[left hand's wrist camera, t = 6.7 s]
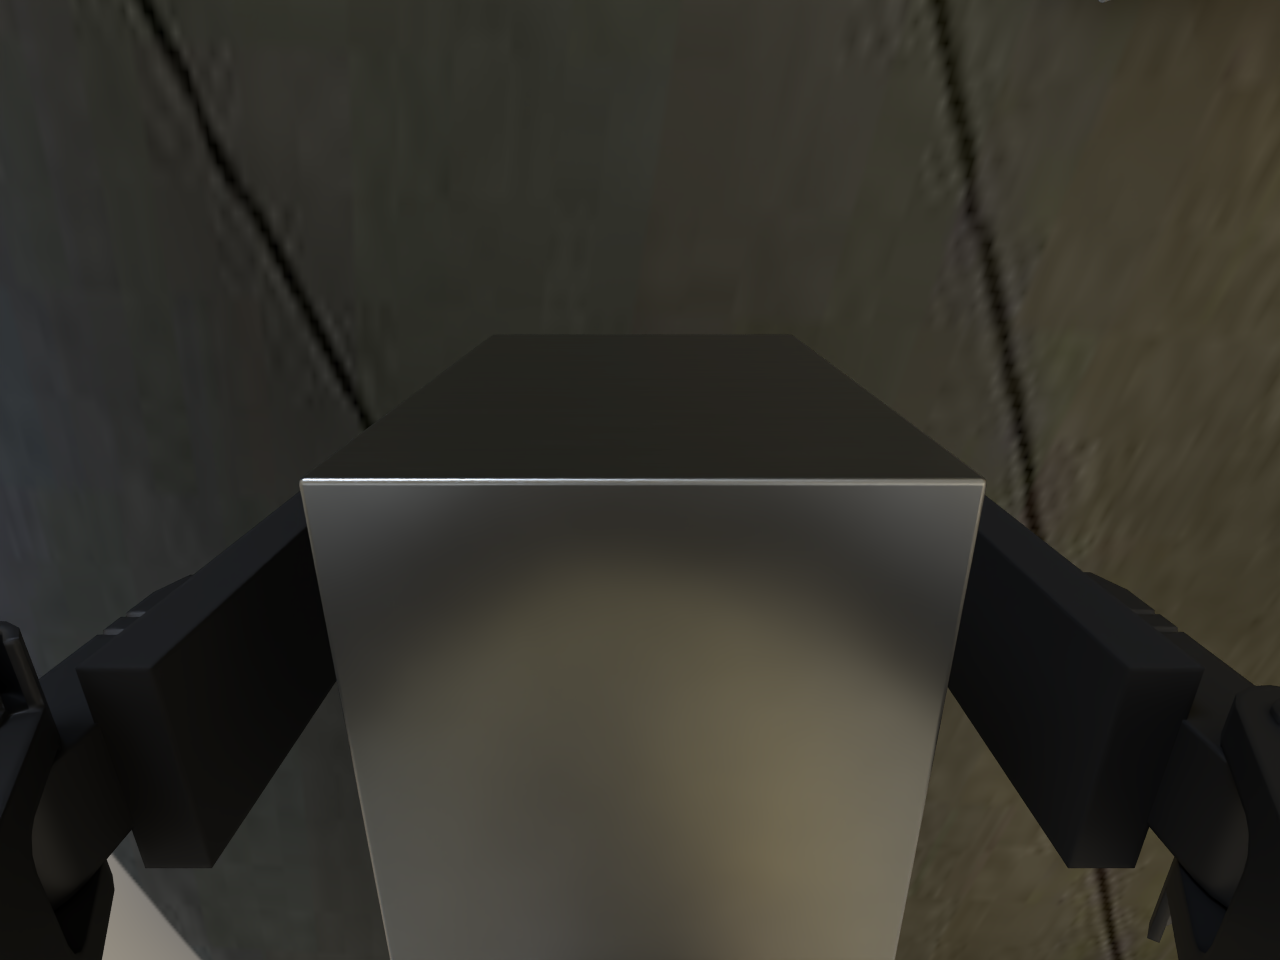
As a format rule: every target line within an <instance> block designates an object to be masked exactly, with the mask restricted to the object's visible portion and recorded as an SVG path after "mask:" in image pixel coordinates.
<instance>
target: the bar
mask: <svg viewBox="0 0 1280 960" xmlns="http://www.w3.org/2000/svg"><path fill="white" fill-rule="evenodd" d="M299 486H300V491H301V497H302V502H303V507H304V512H305V517H306V523H307V528H308V533H309V538H310V543H311V549H312V554H313V559H314V564H315V569H316V575H317V580H318V585H319V590H320V595H321V601H322V606H323V611H324V616H325V622H326V627H327V632H328V637H329V642H330V648H331V653H332V658H333V663H334V668H335V674H336V679H337V684H338V689H339V694H340V700H341V705H342V710H343V715H344V720H345V726H346V731H347V736H348V741H349V746H350V752H351V757H352V762H353V767H354V773H355V778H356V783H357V788H358V793H359V799H360V804H361V809H362V814H363V819H364V825H365V830H366V835H367V840H368V845H369V851H370V856H371V861H372V866H373V871H374V877H375V882H376V887H377V892H378V897H379V903H380V908H381V913H382V918H383V924H384V929H385V934H386V939H387V944H388V950H389V955H390V960H895V955H896V950H897V945H898V940H899V935H900V930H901V924H902V919H903V914H904V909H905V904H906V899H907V893H908V888H909V883H910V878H911V873H912V868H913V862H914V857H915V852H916V847H917V842H918V837H919V831H920V826H921V821H922V816H923V811H924V806H925V800H926V795H927V790H928V785H929V780H930V775H931V769H932V764H933V759H934V754H935V749H936V744H937V738H938V733H939V728H940V723H941V718H942V713H943V707H944V702H945V697H946V692H947V687H948V682H949V676H950V671H951V666H952V661H953V656H954V651H955V645H956V640H957V635H958V630H959V625H960V620H961V614H962V609H963V604H964V599H965V594H966V589H967V584H968V578H969V573H970V568H971V563H972V558H973V553H974V547H975V542H976V537H977V532H978V527H979V522H980V516H981V511H982V506H983V501H984V496H985V491H986V480H985V478H984V477H982V476H981V475H980V474H978V473H977V472H976V471H974V470H973V469H972V468H970V467H969V466H968V465H966V464H965V463H964V462H962V461H961V460H960V459H958V458H957V457H956V456H954V455H953V454H952V453H950V452H949V451H947V450H946V449H945V448H943V447H942V446H941V445H939V444H938V443H937V442H935V441H934V440H933V439H931V438H930V437H929V436H927V435H926V434H925V433H923V432H922V431H921V430H919V429H918V428H917V427H915V426H914V425H913V424H911V423H910V422H909V421H907V420H906V419H904V418H903V417H902V416H900V415H899V414H898V413H896V412H895V411H894V410H892V409H891V408H890V407H888V406H887V405H886V404H884V403H883V402H882V401H880V400H879V399H878V398H876V397H875V396H874V395H872V394H871V393H870V392H868V391H867V390H866V389H864V388H863V387H862V386H860V385H859V384H857V383H856V382H855V381H853V380H852V379H851V378H849V377H848V376H847V375H845V374H844V373H843V372H841V371H840V370H839V369H837V368H836V367H835V366H833V365H832V364H831V363H829V362H828V361H827V360H825V359H824V358H823V357H821V356H820V355H819V354H817V353H816V352H814V351H813V350H812V349H810V348H809V347H808V346H806V345H805V344H804V343H802V342H801V341H800V340H798V339H797V338H796V337H794V336H793V335H492V336H491V337H489V338H488V339H487V340H485V341H484V342H482V343H481V344H480V345H478V346H477V347H476V348H474V349H473V350H472V351H470V352H469V353H468V354H466V355H465V356H464V357H462V358H461V359H460V360H458V361H457V362H456V363H454V364H453V365H452V366H450V367H449V368H448V369H446V370H445V371H444V372H442V373H441V374H440V375H438V376H437V377H436V378H434V379H433V380H432V381H430V382H429V383H428V384H426V385H425V386H424V387H422V388H421V389H420V390H418V391H417V392H416V393H414V394H413V395H412V396H410V397H409V398H408V399H406V400H405V401H404V402H402V403H401V404H399V405H398V406H397V407H395V408H394V409H393V410H391V411H390V412H389V413H387V414H386V415H385V416H383V417H382V418H381V419H379V420H378V421H377V422H375V423H374V424H373V425H371V426H370V427H369V428H367V429H366V430H365V431H363V432H362V433H361V434H359V435H358V436H357V437H355V438H354V439H353V440H351V441H350V442H349V443H347V444H346V445H345V446H343V447H342V448H341V449H339V450H338V451H337V452H335V453H334V454H333V455H331V456H330V457H329V458H327V459H326V460H325V461H323V462H322V463H320V464H319V465H318V466H316V467H315V468H314V469H312V470H311V471H310V472H308V473H307V474H306V475H304V476H303V477H302V478H301V479H300V483H299Z"/></svg>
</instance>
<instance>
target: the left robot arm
mask: <svg viewBox="0 0 1280 960" xmlns="http://www.w3.org/2000/svg"><path fill="white" fill-rule="evenodd" d="M1154 611H1155V610H1154V609H1152V608H1151V607H1150V606H1148V605H1147V604H1146V603H1144V602H1143V601H1142V600H1140V599H1139V598H1138V597H1136V596H1135V595H1134V594H1132V593H1131V592H1130V591H1128V590H1127V589H1125V588H1122V587H1120V586H1118V585H1116V584H1114V583H1112V582H1110V581H1108V580H1105V579H1103V578H1101V577H1099V576H1097V575H1095V574H1093V573H1091V572H1082V571H1081V570H1080V569H1079V568H1077V567H1076V566H1075V565H1073V564H1072V563H1071V562H1070V561H1068V560H1067V559H1066V558H1065V557H1063V556H1062V555H1061V554H1059V553H1058V552H1057V551H1056V550H1054V549H1053V548H1052V547H1051V546H1049V545H1048V544H1047V543H1045V542H1044V541H1043V540H1042V539H1040V538H1039V537H1038V536H1037V535H1035V534H1034V533H1033V532H1031V531H1030V530H1029V529H1028V528H1026V527H1025V526H1024V525H1023V524H1021V523H1020V522H1019V521H1017V520H1016V519H1015V518H1014V517H1012V516H1011V515H1010V514H1009V513H1007V512H1006V511H1005V510H1003V509H1002V508H1001V507H1000V506H998V505H997V504H996V503H995V502H993V501H992V500H991V499H989V498H988V497H987V496H986V495H985V496H984V501H983V506H982V511H981V516H980V522H979V527H978V532H977V537H976V542H975V547H974V553H973V558H972V563H971V568H970V573H969V578H968V584H967V589H966V594H965V599H964V604H963V609H962V614H961V620H960V625H959V630H958V635H957V640H956V645H955V651H954V656H953V661H952V666H951V671H950V676H949V682H948V688H949V689H950V691H951V692H952V694H953V695H954V697H955V698H956V700H957V701H958V703H959V704H960V706H961V707H962V709H963V711H964V712H965V714H966V715H967V717H968V718H969V720H970V721H971V723H972V724H973V726H974V727H975V729H976V730H977V732H978V733H979V735H980V736H981V738H982V739H983V741H984V742H985V744H986V745H987V747H988V748H989V750H990V751H991V753H992V754H993V756H994V757H995V759H996V760H997V762H998V763H999V765H1000V766H1001V768H1002V769H1003V771H1004V772H1005V774H1006V775H1007V777H1008V778H1009V780H1010V781H1011V783H1012V784H1013V786H1014V787H1015V789H1016V790H1017V792H1018V793H1019V795H1020V796H1021V798H1022V799H1023V801H1024V802H1025V804H1026V805H1027V807H1028V808H1029V810H1030V811H1031V813H1032V814H1033V816H1034V817H1035V819H1036V820H1037V822H1038V823H1039V825H1040V826H1041V828H1042V829H1043V831H1044V832H1045V834H1046V835H1047V837H1048V838H1049V840H1050V841H1051V843H1052V844H1053V846H1054V847H1055V849H1056V850H1057V852H1058V853H1059V855H1060V856H1061V858H1062V859H1063V861H1064V862H1065V864H1066V866H1067V867H1068V868H1135V865H1136V863H1137V860H1138V857H1139V854H1140V851H1141V848H1142V846H1143V843H1144V840H1145V837H1146V834H1147V831H1148V829H1149V827H1150V828H1151V829H1152V830H1153V832H1154V833H1155V834H1156V835H1157V836H1158V838H1159V839H1160V840H1161V841H1162V842H1163V843H1164V845H1165V846H1166V847H1167V848H1168V849H1169V851H1170V852H1171V853H1172V854H1173V855H1174V856H1175V857H1174V859H1173V862H1172V865H1171V867H1170V870H1169V872H1168V875H1167V878H1166V880H1165V883H1164V886H1163V888H1162V891H1161V894H1160V896H1159V899H1158V902H1157V904H1156V907H1155V910H1154V912H1153V915H1152V917H1151V920H1150V923H1149V930H1148V936H1147V938H1148V939H1151V940H1153V941H1156V942H1160V940H1161V937H1162V935H1163V932H1164V930H1165V927H1166V926H1167V925H1169V924H1172V926H1173V931H1174V937H1175V942H1176V948H1177V953H1178V959H1179V960H1280V687H1278V686H1272V685H1266V686H1255V685H1253V684H1252V683H1251V682H1249V681H1248V680H1247V679H1245V678H1244V677H1243V676H1241V675H1240V674H1239V673H1237V672H1236V671H1235V670H1233V669H1232V668H1231V667H1229V666H1228V665H1227V664H1225V663H1224V662H1223V661H1221V660H1220V659H1219V658H1217V657H1216V656H1215V655H1213V654H1212V653H1211V652H1209V651H1208V650H1207V649H1205V648H1204V647H1203V646H1201V645H1200V644H1199V643H1197V642H1196V641H1195V640H1193V639H1192V638H1191V637H1189V636H1188V635H1187V634H1185V633H1184V632H1178V630H1177V627H1176V626H1175V625H1173V624H1172V623H1171V622H1169V621H1168V620H1167V619H1165V618H1164V617H1163V616H1161V615H1160V614H1155V613H1154ZM336 680H337V679H336V674H335V668H334V663H333V658H332V653H331V648H330V642H329V637H328V632H327V627H326V622H325V616H324V611H323V606H322V601H321V595H320V590H319V585H318V580H317V575H316V569H315V564H314V559H313V554H312V549H311V543H310V538H309V533H308V528H307V523H306V517H305V512H304V507H303V502H302V497H301V491H299V492H298V493H297V494H296V495H294V496H293V497H292V498H291V499H289V500H288V501H287V502H285V503H284V504H283V505H282V506H280V507H279V508H278V509H277V510H275V511H274V512H273V513H271V514H270V515H269V516H268V517H266V518H265V519H264V520H263V521H261V522H260V523H259V524H257V525H256V526H255V527H254V528H252V529H251V530H250V531H249V532H247V533H246V534H245V535H243V536H242V537H241V538H240V539H238V540H237V541H236V542H235V543H233V544H232V545H231V546H229V547H228V548H227V549H226V550H224V551H223V552H222V553H221V554H219V555H218V556H217V557H215V558H214V559H213V560H212V561H210V562H209V563H208V564H207V565H205V566H204V567H203V568H202V569H200V570H199V571H198V572H196V573H195V574H194V575H189V576H187V577H185V578H183V579H180V580H178V581H176V582H174V583H172V584H170V585H168V586H166V587H164V588H162V589H159V590H157V591H155V592H153V593H152V594H151V595H149V596H148V597H147V598H145V599H144V600H143V601H141V602H140V603H139V604H137V605H136V606H135V607H133V608H132V609H131V610H129V611H128V612H127V613H126V617H120V618H119V619H118V620H116V621H115V622H114V623H112V624H111V625H110V626H108V627H107V628H106V629H104V630H103V635H96V636H95V637H94V638H93V639H91V640H90V641H89V642H87V643H86V644H85V645H83V646H82V647H81V648H79V649H78V650H77V651H75V652H74V653H73V654H71V655H70V656H69V657H67V658H66V659H65V660H63V661H62V662H61V663H60V664H58V665H57V666H56V667H54V668H53V669H52V670H50V671H49V672H48V673H46V674H45V675H44V676H42V677H41V678H40V679H38V677H37V674H36V671H35V669H34V666H33V664H32V661H31V658H30V656H29V653H28V650H27V648H26V645H25V642H24V640H23V637H22V634H21V632H20V629H19V628H18V627H16V626H14V625H12V624H10V623H8V622H4V621H0V960H102V956H103V950H104V945H105V939H106V934H107V928H108V923H109V917H110V911H111V906H112V901H113V895H114V883H113V876H112V873H111V870H110V867H109V865H108V862H107V858H108V857H109V856H110V855H111V853H112V852H113V851H114V850H115V849H116V847H117V846H118V845H119V844H120V843H121V842H122V840H123V839H124V838H125V837H126V836H127V834H128V833H129V832H130V831H131V830H132V831H133V834H134V837H135V840H136V843H137V846H138V848H139V851H140V854H141V857H142V860H143V863H144V865H145V868H212V867H213V866H214V864H215V863H216V861H217V860H218V858H219V856H220V855H221V853H222V852H223V850H224V849H225V847H226V846H227V844H228V843H229V841H230V840H231V838H232V837H233V835H234V834H235V832H236V831H237V829H238V828H239V826H240V825H241V823H242V822H243V820H244V819H245V817H246V816H247V814H248V813H249V811H250V810H251V808H252V807H253V805H254V804H255V802H256V801H257V799H258V798H259V796H260V795H261V793H262V792H263V790H264V789H265V787H266V786H267V784H268V783H269V781H270V780H271V778H272V777H273V775H274V774H275V772H276V771H277V769H278V768H279V766H280V765H281V763H282V762H283V760H284V759H285V757H286V756H287V754H288V753H289V751H290V750H291V748H292V747H293V745H294V744H295V742H296V741H297V739H298V738H299V736H300V735H301V733H302V732H303V730H304V729H305V727H306V726H307V724H308V723H309V721H310V720H311V718H312V717H313V715H314V714H315V712H316V711H317V709H318V708H319V706H320V705H321V703H322V701H323V700H324V698H325V697H326V695H327V694H328V692H329V691H330V689H331V688H332V686H333V685H334V683H335V682H336Z"/></svg>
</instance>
